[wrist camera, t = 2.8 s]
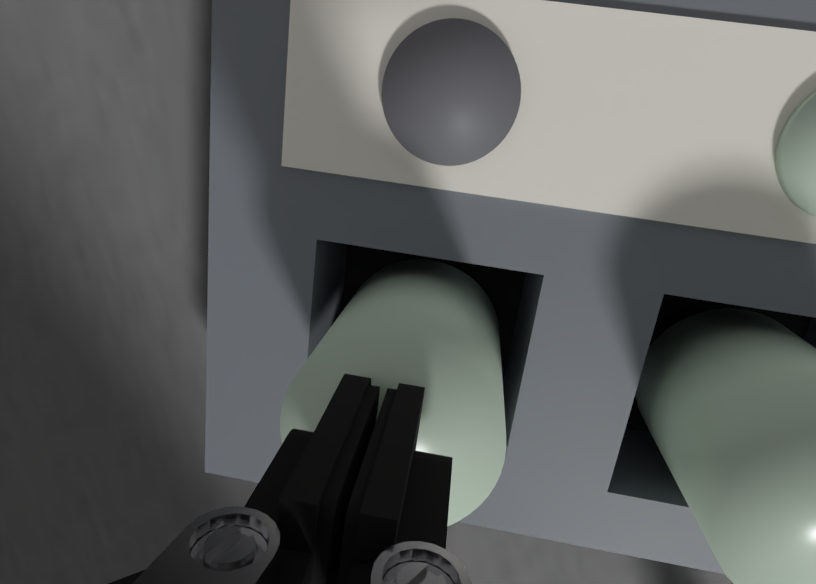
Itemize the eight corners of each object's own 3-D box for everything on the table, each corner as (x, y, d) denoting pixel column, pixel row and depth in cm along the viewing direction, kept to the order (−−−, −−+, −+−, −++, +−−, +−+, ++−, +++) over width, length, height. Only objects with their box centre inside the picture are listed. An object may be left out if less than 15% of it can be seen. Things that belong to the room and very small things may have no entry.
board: (1419, 99, 14) (1819, 93, 10) (1111, 567, 19) (1294, 699, 15) (274, -33, 17) (202, -83, 12) (254, 409, 21) (197, 482, 17)
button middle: (833, 323, 16) (1030, 441, 10) (776, 468, 17) (919, 641, 12) (658, 295, 16) (752, 393, 10) (618, 439, 18) (681, 593, 12)
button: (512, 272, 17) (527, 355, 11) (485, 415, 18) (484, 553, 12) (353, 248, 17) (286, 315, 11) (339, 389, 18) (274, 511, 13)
